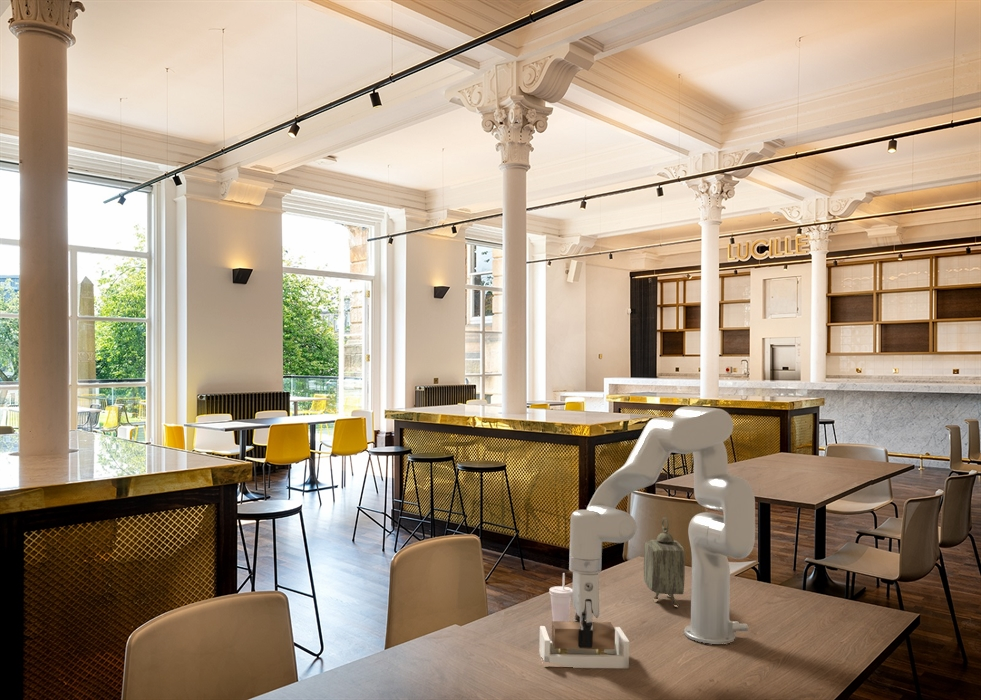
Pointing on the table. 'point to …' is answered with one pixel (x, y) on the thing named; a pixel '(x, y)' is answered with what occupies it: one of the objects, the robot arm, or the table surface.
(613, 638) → the plank
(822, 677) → the table surface
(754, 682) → the table surface
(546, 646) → the frame
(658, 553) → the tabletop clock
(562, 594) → the smoothie
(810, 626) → the table surface
